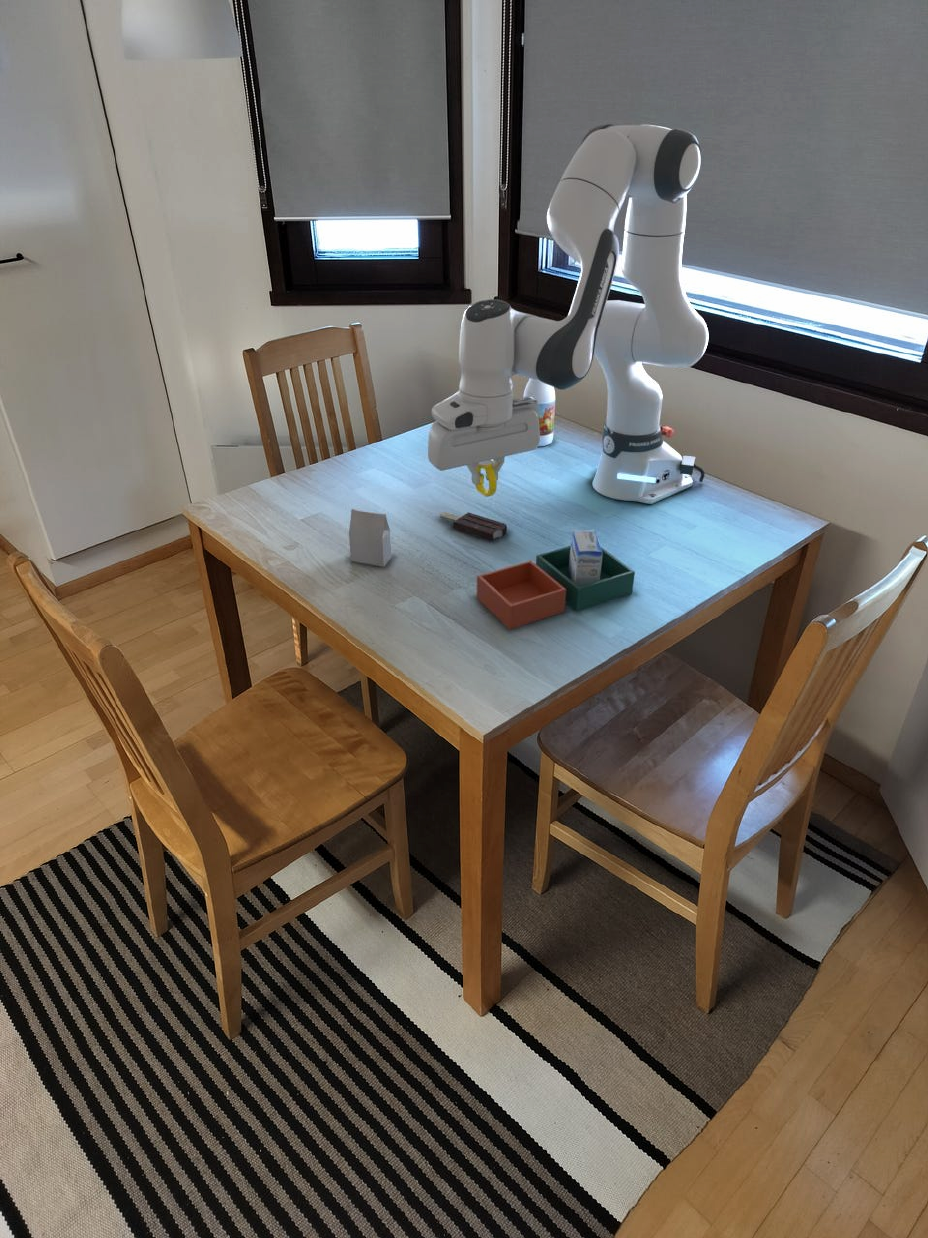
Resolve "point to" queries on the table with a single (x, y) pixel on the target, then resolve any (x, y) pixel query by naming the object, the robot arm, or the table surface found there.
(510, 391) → the robot arm
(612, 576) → the green bin
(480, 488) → the watch
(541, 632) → the table surface
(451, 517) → the ice cream bar
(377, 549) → the tea bag
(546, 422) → the milk bottle
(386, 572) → the table surface
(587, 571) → the medicine box
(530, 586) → the terracotta bin
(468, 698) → the table surface
